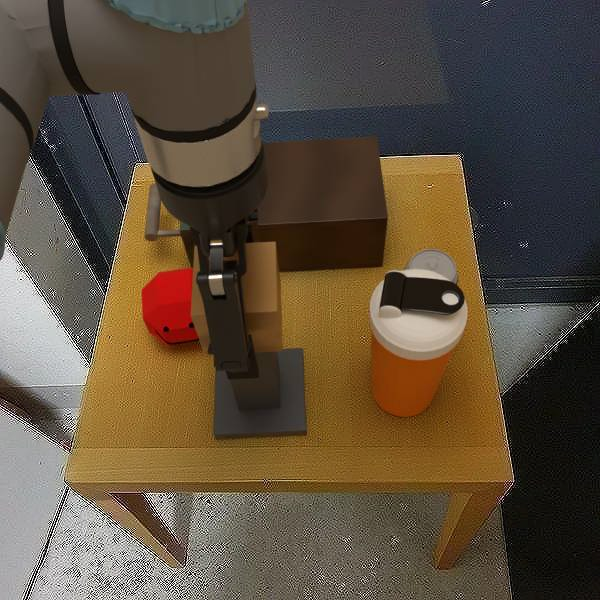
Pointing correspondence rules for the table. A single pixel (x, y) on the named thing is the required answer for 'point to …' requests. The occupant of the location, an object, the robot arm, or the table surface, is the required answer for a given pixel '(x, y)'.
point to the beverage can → (434, 263)
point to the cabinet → (324, 204)
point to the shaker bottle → (413, 337)
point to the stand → (263, 399)
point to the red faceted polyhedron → (170, 307)
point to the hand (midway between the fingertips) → (244, 320)
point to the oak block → (250, 298)
